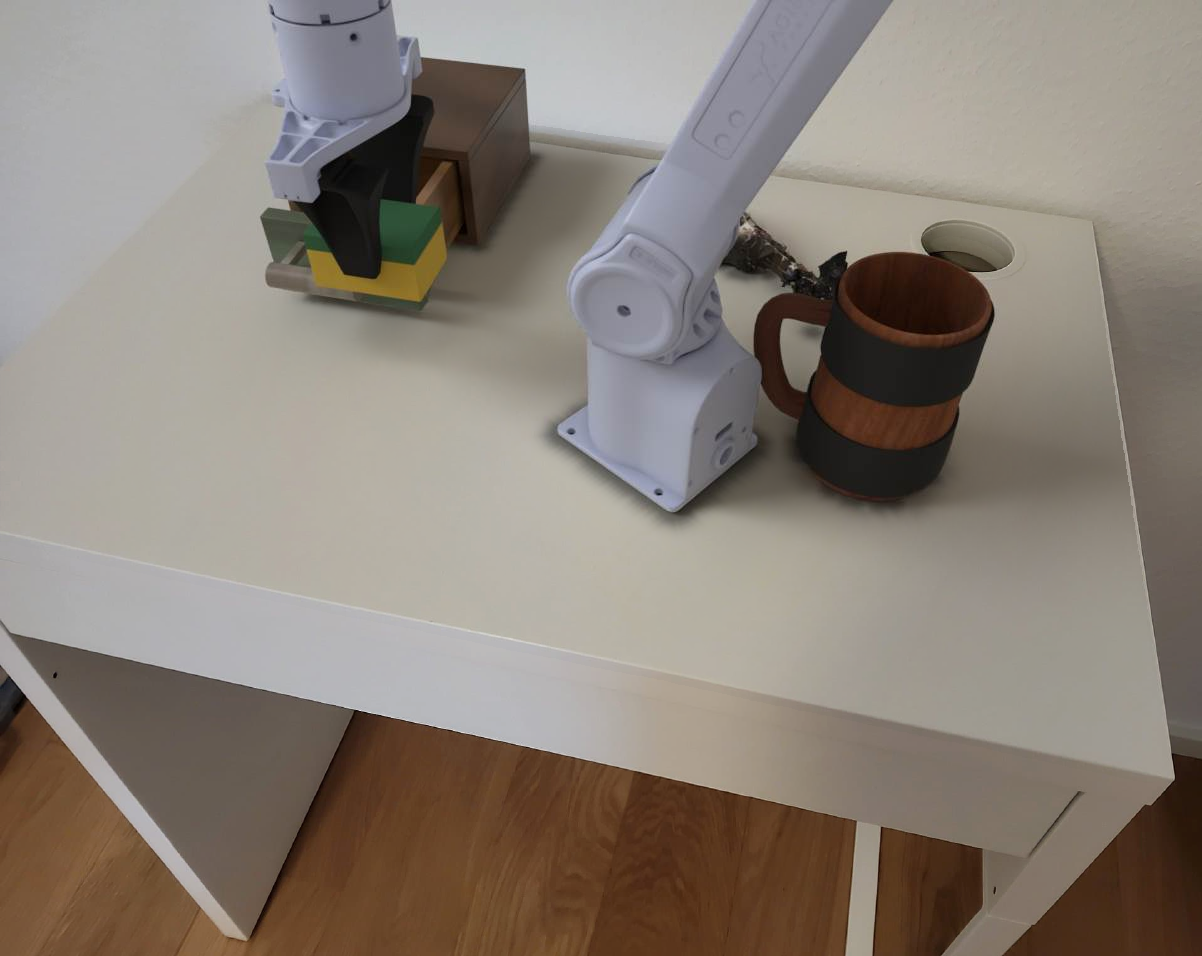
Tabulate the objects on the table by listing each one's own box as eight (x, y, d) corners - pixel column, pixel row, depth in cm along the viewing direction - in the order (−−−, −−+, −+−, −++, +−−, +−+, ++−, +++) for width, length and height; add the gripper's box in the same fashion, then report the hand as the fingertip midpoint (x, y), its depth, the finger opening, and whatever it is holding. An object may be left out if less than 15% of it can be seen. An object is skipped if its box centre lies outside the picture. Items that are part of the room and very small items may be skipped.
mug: (752, 381, 59) (778, 221, 51) (945, 421, 57) (1006, 260, 48) (723, 475, 54) (746, 314, 45) (935, 524, 51) (1002, 362, 43)
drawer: (397, 351, 60) (381, 277, 56) (251, 327, 62) (225, 253, 57) (481, 214, 71) (474, 143, 67) (356, 197, 73) (340, 126, 68)
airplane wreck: (823, 356, 61) (839, 287, 57) (651, 228, 71) (655, 162, 67) (884, 324, 63) (904, 256, 59) (709, 205, 73) (716, 140, 69)
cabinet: (478, 246, 70) (467, 151, 64) (336, 225, 72) (313, 131, 66) (530, 157, 79) (525, 68, 73) (403, 141, 80) (388, 52, 75)
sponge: (420, 302, 53) (412, 250, 50) (315, 286, 54) (301, 234, 51) (447, 258, 56) (440, 206, 53) (347, 243, 57) (335, 192, 54)
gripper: (317, -58, 49) (364, 176, 59) (171, 57, 40) (257, 312, 50) (443, -46, 48) (469, 190, 58) (323, 75, 39) (380, 332, 49)
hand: (379, 248), depth 54 cm, fingers closed on sponge, 4 cm apart
